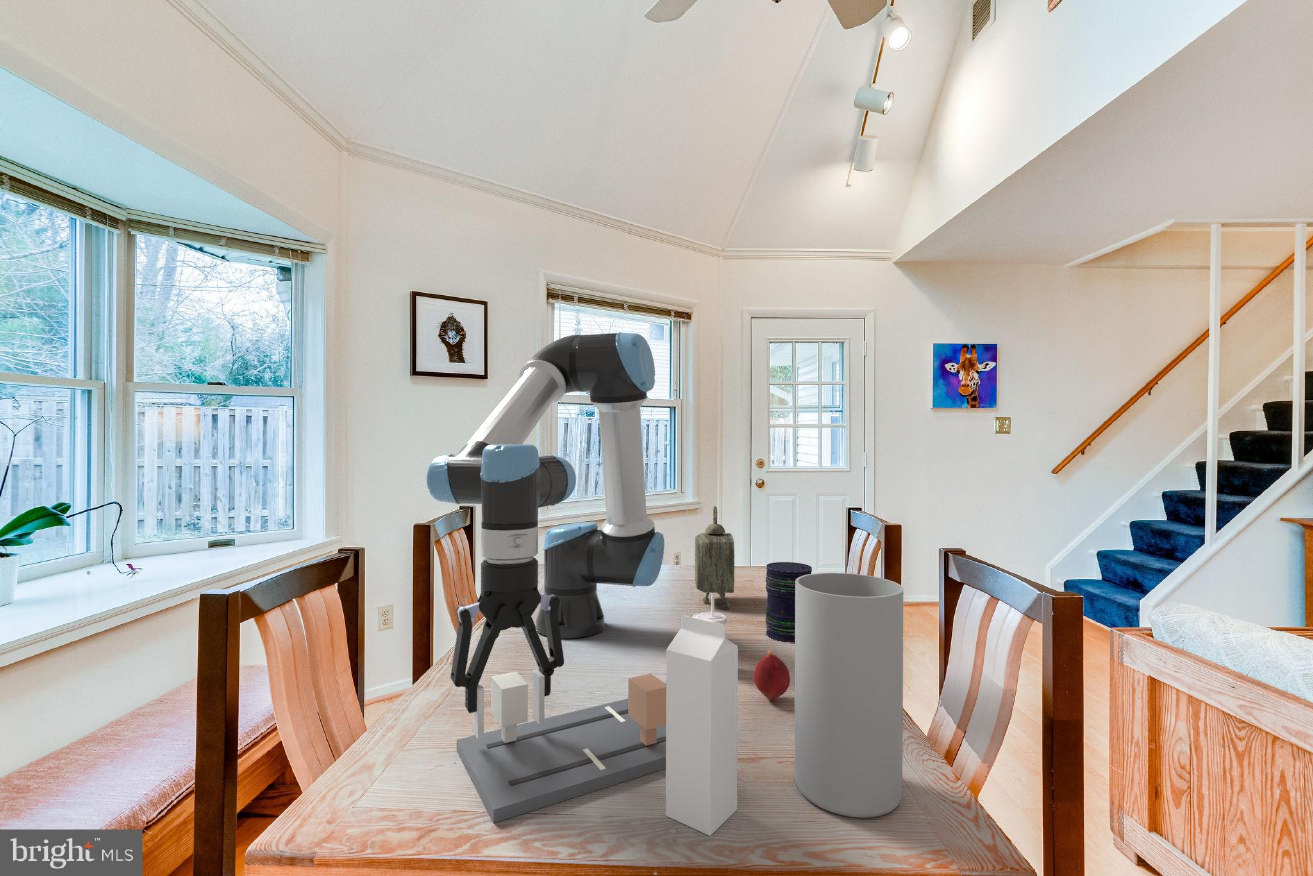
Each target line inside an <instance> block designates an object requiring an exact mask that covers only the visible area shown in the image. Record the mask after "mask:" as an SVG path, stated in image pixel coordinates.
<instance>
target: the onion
mask: <svg viewBox="0 0 1313 876" xmlns="http://www.w3.org/2000/svg"><path fill="white" fill-rule="evenodd" d="M788 668H789V667H787V665H786V664H785V663H784V662H783V660H781V659H780V658H779V657H778V656H777V655H776V654H775V653H774V652H773V651H772V650H768V651H767V655H766V656H764V657H763V658H761V660H759V661H758V662H757V664H756V666H755V668H754V671H753V683H754V684H755V687H756V689H757V690H758V691H759V692H760V693H761V694H762V695H763V696H765V698H766V699H767V700H768V701H774V700H776V699H778V698H779V697H781V696H782V695H784V694H785V693H787V690H788V688H789V686H790V682H791V676H790V671H789V669H788Z"/></svg>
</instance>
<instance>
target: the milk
mask: <svg viewBox="0 0 1313 876" xmlns="http://www.w3.org/2000/svg"><path fill="white" fill-rule="evenodd" d="M665 663H666V674H665V676H666V679H665V681H666V682H665V683H666V769H665V816H666V817H668V818H670V819H672V820H675V821H676V822H679V823H681V824H684V825H686V826H687V827H689V828H692V829H694V830H696V831H698V832H700V833H703V835H707V836H709V837H710V836H712V835H713V834H714V833H715V832H716V831H717V830H718V829H719V828H720V827H721V826H722V825H723V824H724V823H725V822H726V821H728V819H729V818H730V817H731V816H733V814H735V812H736V811H738V733H739V732H738V731H739V730H738V722H739V721H738V719H739V718H738V715H739V714H738V713H739V712H738V711H739V709H738V707H739V706H738V705H739V703H738V702H739V699H738V696H739V694H738V693H739V691H738V690H739V685H738V684H739V647H738V645H737V644H735V643H734V642H732V641H731V640H729V639H727V638H726V624H725V625H724V624H720V623H716V622H711V621H706V620H702V619H697V618H693V616H688V615H682V616H681V617H680V629H679V630H678V632H677V633H676V635H675V637H674V638H673V639H672V640H671V642H670V644H669V645H668V647H667V648H666V662H665Z"/></svg>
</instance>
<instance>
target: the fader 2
mask: <svg viewBox="0 0 1313 876" xmlns="http://www.w3.org/2000/svg"><path fill="white" fill-rule="evenodd" d="M627 682H628V687H627V688H628V689H627V690H628V694H627V696H628V698H627V699H628V715H629V716H630V717H631V718H632V719H634V720H635V721H636V722H637V723H638V724H639V725H640V741H641V742H642V743H644V744H645V745H646V746H647V745H651V744H654V743H657V727H660V726H664V725H666V682H664V681H663V680H661V679H659V678H658V677H657V676H655V675H653V673H648V674H642V675H639V676H633V677H629V678H628V681H627Z"/></svg>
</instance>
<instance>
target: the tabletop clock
mask: <svg viewBox="0 0 1313 876" xmlns="http://www.w3.org/2000/svg"><path fill="white" fill-rule="evenodd" d="M712 509H713V510H712V511H713V512H712V513H713V515H712V516H713V518H712V519H713V520H712V523H710V524H709V525H708V526H707V527H706V528H705V530H704V532H701V533H699V534H697V535H695V537H694V582H695V588H696V589H697V590H699V591H700V592H702V593H706V594H705V596H704V597H703V598H702V602H703V603H704V604H708V603H710V598H709V595H710V594H711V593H714V594H718V595H719V596H718V597H720V598H721V600H722V601H723V604H722V607H723V609H725V610H728V609H729V608H730V602H727V601H726V598H725V597H726V594H733V593H734V592H735V540H734V537H733V534H731V533H730V532H726V530H725V527H724V526H723V525H722V524H719V523H718V508H717V506H716V505H715V506H713V508H712Z"/></svg>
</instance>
